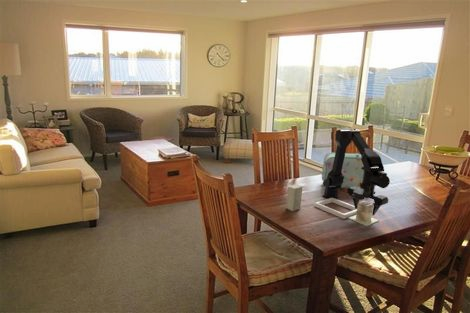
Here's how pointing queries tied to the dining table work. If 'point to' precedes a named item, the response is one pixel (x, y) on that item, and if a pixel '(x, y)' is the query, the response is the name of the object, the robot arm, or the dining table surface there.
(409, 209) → the dining table surface
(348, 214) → the white rectangular frame
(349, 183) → the lunch box
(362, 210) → the birch parts box
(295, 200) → the skincare box
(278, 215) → the dining table surface
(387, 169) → the dining table surface
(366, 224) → the sage pad
